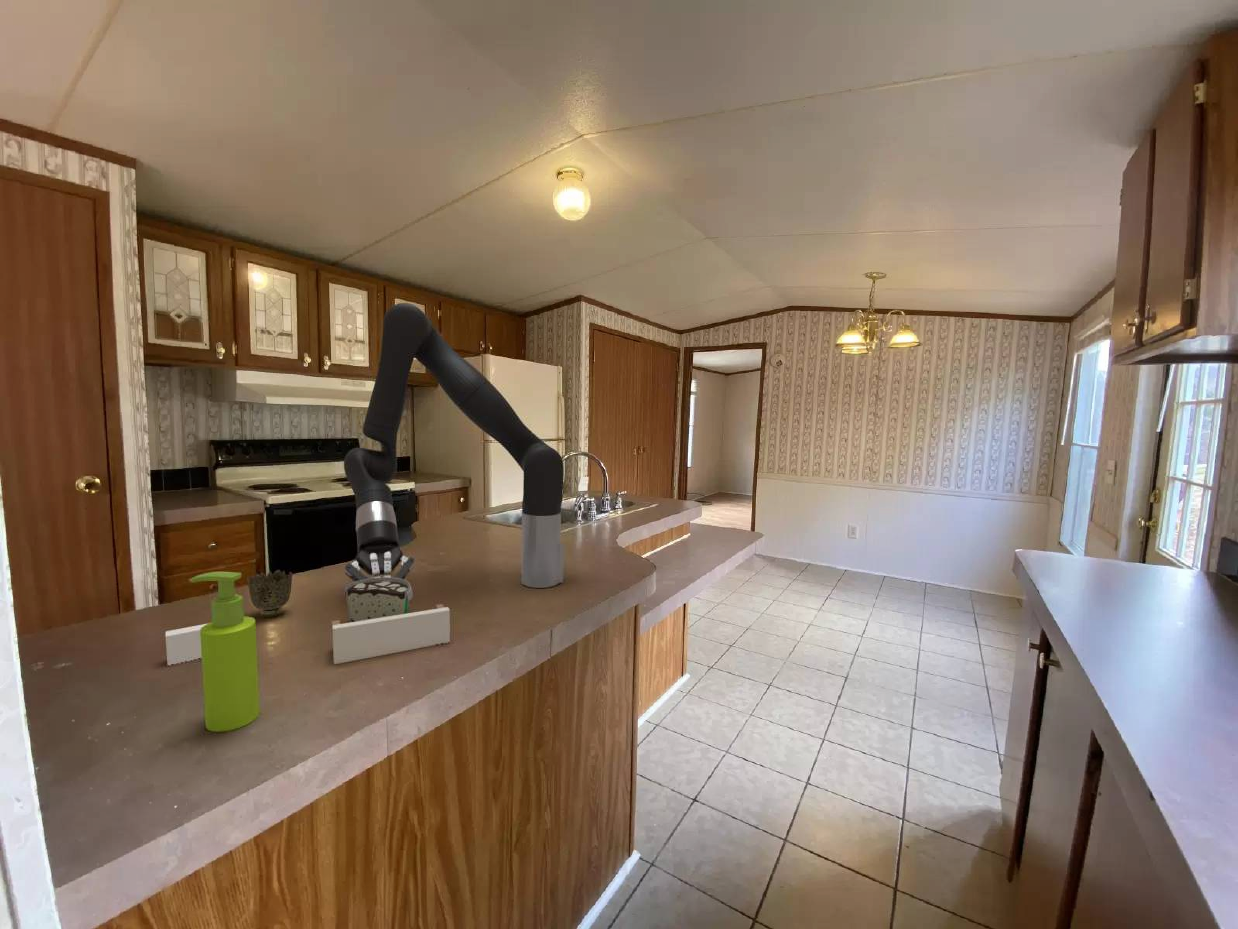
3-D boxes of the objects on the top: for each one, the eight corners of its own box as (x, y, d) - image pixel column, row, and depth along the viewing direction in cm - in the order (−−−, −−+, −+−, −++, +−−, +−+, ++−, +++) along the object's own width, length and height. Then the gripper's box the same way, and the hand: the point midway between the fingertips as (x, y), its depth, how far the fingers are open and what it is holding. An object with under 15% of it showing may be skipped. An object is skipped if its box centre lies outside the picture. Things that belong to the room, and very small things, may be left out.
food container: (425, 629, 101) (425, 578, 100) (409, 644, 95) (409, 589, 94) (363, 625, 102) (362, 574, 101) (344, 639, 96) (342, 585, 95)
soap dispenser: (216, 707, 74) (208, 566, 72) (268, 706, 75) (262, 567, 73) (186, 732, 68) (176, 581, 66) (243, 731, 69) (235, 581, 67)
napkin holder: (140, 674, 83) (137, 639, 83) (195, 642, 94) (193, 610, 94) (238, 675, 84) (236, 640, 83) (282, 643, 95) (280, 612, 94)
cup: (302, 612, 108) (300, 573, 107) (264, 625, 101) (263, 584, 100) (278, 605, 111) (276, 567, 110) (240, 617, 104) (238, 577, 103)
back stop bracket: (442, 629, 101) (442, 598, 101) (449, 642, 96) (449, 610, 96) (332, 649, 92) (331, 615, 92) (334, 664, 87) (332, 629, 86)
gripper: (340, 521, 103) (344, 604, 94) (413, 516, 110) (423, 593, 101) (340, 541, 109) (344, 622, 99) (409, 535, 115) (419, 610, 106)
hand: (384, 607), depth 100 cm, fingers closed
